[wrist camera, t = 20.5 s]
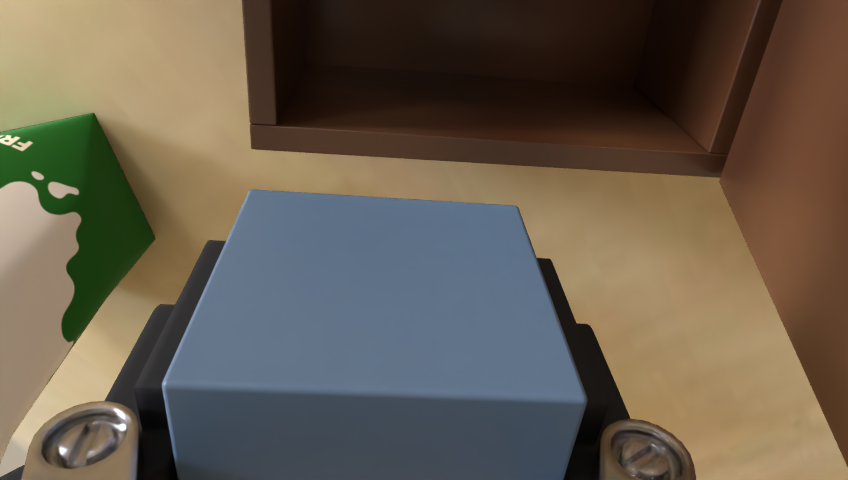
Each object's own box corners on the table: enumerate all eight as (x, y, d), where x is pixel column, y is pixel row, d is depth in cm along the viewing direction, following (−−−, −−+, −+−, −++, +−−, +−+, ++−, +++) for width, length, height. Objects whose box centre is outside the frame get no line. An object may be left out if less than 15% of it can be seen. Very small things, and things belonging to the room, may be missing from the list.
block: (260, 388, 14) (199, 623, 10) (248, 187, 11) (158, 384, 7) (482, 396, 14) (520, 625, 10) (518, 204, 12) (590, 399, 7)
